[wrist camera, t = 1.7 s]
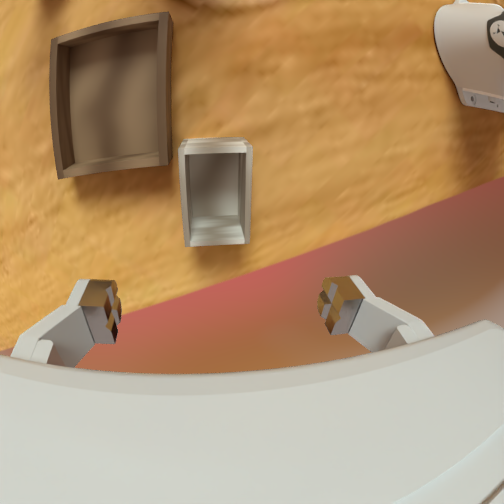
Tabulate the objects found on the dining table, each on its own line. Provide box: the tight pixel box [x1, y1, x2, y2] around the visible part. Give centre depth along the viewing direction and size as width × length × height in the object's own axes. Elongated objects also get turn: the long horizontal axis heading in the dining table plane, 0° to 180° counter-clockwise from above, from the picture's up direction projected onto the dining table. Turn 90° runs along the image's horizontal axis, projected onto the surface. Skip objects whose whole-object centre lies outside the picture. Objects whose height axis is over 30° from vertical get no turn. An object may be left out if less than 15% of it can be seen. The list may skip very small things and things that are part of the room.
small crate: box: [178, 137, 253, 247], centre depth 26 cm, size 6×9×6 cm, turn 179°
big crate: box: [49, 12, 173, 179], centre depth 20 cm, size 12×15×4 cm
